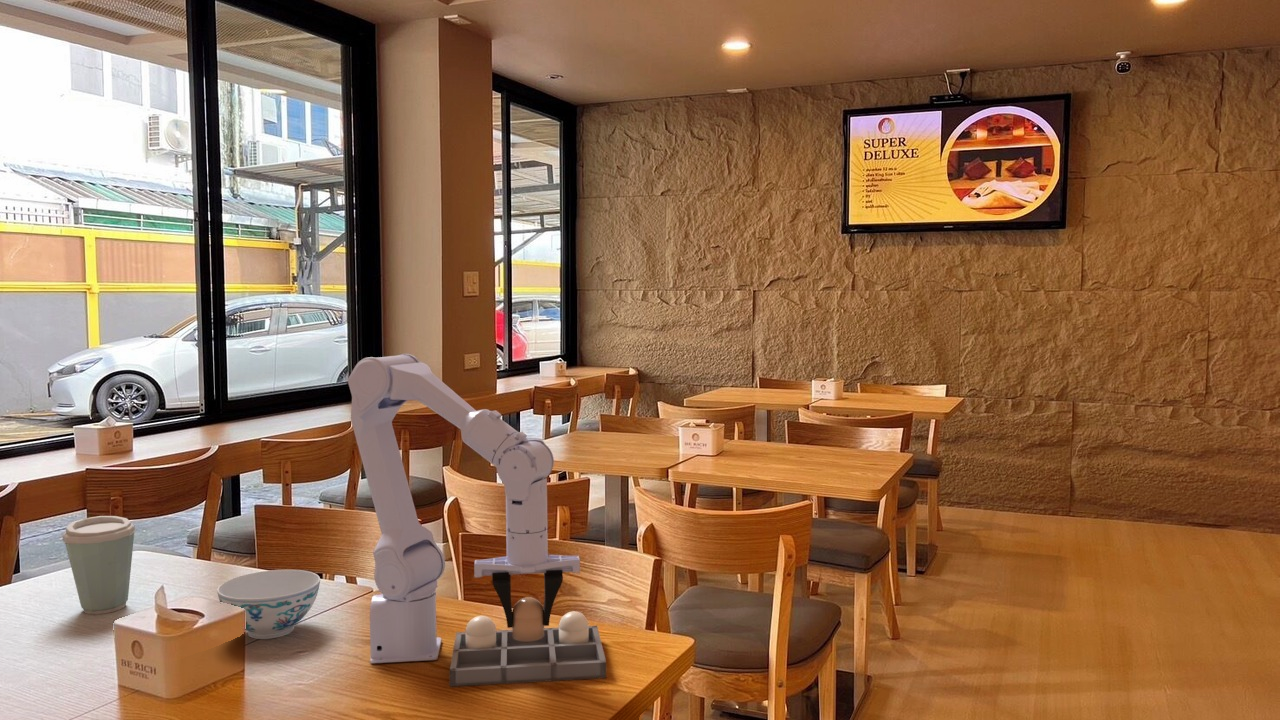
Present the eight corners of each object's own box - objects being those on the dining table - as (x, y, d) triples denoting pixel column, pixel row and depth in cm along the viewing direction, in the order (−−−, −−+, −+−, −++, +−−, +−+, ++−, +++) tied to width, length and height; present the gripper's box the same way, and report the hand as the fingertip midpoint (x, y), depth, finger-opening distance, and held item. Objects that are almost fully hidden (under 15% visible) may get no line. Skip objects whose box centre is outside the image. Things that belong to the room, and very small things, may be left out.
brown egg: (512, 642, 127) (511, 603, 127) (512, 630, 132) (511, 593, 131) (544, 640, 128) (544, 602, 127) (543, 629, 132) (543, 592, 132)
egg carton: (449, 686, 125) (449, 644, 125) (456, 646, 139) (455, 609, 139) (606, 677, 128) (606, 636, 127) (597, 639, 142) (596, 602, 142)
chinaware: (308, 609, 156) (307, 564, 156) (332, 636, 144) (331, 587, 143) (211, 626, 148) (209, 579, 148) (228, 657, 136) (226, 605, 135)
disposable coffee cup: (151, 605, 158) (148, 519, 157) (86, 624, 149) (82, 532, 148) (118, 595, 164) (114, 511, 163) (53, 612, 155) (48, 524, 154)
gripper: (472, 538, 124) (474, 637, 125) (581, 533, 126) (582, 631, 127) (474, 525, 131) (476, 619, 132) (577, 521, 133) (578, 614, 134)
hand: (528, 624), depth 130 cm, fingers closed on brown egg, 4 cm apart
